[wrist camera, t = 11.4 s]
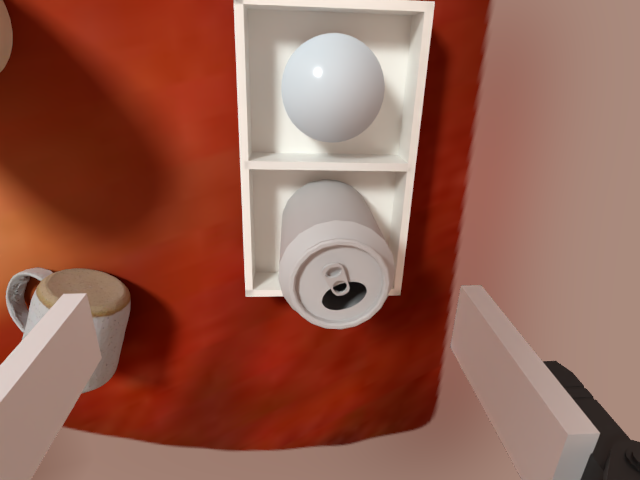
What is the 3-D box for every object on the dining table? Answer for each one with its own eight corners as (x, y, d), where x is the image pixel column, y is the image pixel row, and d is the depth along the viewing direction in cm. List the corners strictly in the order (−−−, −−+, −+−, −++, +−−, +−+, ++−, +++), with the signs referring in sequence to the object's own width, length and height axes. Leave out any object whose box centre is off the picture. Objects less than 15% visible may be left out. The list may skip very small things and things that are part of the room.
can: (301, 270, 39) (305, 355, 28) (267, 196, 36) (256, 258, 25) (380, 240, 38) (416, 316, 27) (352, 162, 36) (379, 211, 24)
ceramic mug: (146, 277, 39) (113, 325, 32) (129, 349, 42) (95, 407, 35) (21, 242, 37) (-43, 285, 30) (12, 320, 40) (-49, 376, 33)
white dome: (281, 33, 32) (280, 31, 28) (377, 37, 32) (389, 35, 28) (282, 132, 34) (281, 141, 31) (370, 133, 35) (380, 143, 31)
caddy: (239, 0, 31) (233, -8, 28) (418, 7, 32) (434, 1, 29) (249, 274, 40) (245, 296, 36) (390, 273, 41) (400, 295, 37)
